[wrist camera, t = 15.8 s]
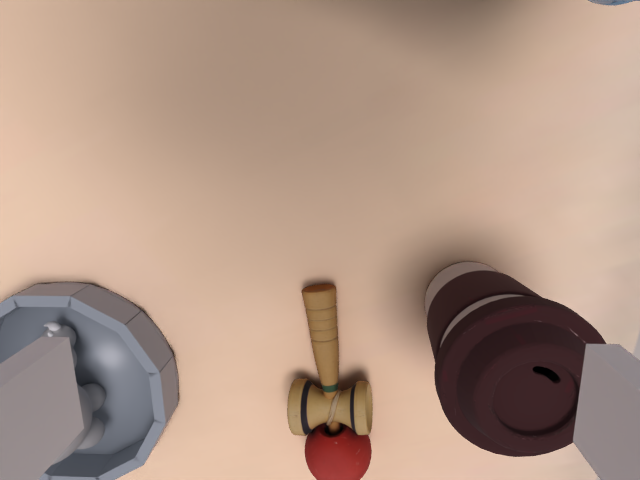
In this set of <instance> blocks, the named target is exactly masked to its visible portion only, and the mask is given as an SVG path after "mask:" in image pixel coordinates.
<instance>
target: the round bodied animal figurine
mask: <svg viewBox="0 0 640 480" xmlns="http://www.w3.org/2000/svg"><path fill="white" fill-rule="evenodd" d="M44 326H46V327H48V328H47V329H46V330H45V331H44V332H43V334H42V335H41V337H69V340H70V346H71V352H72V358H73V364H74V369H75V367H76V363H77V355H76V353H75V351H74V349H73V346H74V344H75V342H76V334H75V332H74V330H73V329H72V328H71V327H69V326H67V325H64V324H59V323H57V322H55V321H50V322H48V323H46V324H45V325H44ZM13 355H14V354H13ZM13 355H11V356H13ZM77 388H78V394H79V400H80V406H81V412H82V418H83V424H84V429H83V430H82V431H81V432H80V433H79V435H78V436H77V437H76V438H75V439H74V440H73V441H72V442H71V443H70V445H69V446H68V447H67V448H66V449H65V450H64V451H63V452H62V454H61V455H60V456H59V457H58V458H57V459H56V460H55V461H54V462H53V464H56V463H58V462H60V461H62V460H63V459H65V458H66V457H68V456H69V455H70V454H72V453H73V452H74V451H75V450H76V449H87V448H90V447H92V446H94V445H96V444H97V443H99V442H100V440H101V439H102V438H103V436H104V433H105V426H104V424H103V422H102V421H101V420H100V419H98V418H96V417H92V412H94V411H96V410H98V409H99V408H100V407H101V406H102V405H103V403H104V401H105V398H106V395H105V391H104V389H103V388H102V387H101V386H100V385H98V384H95V383H90V384H86V385H84V386H82V387H81V386H80V385H78V384H77ZM53 464H52V465H53Z"/></svg>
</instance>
